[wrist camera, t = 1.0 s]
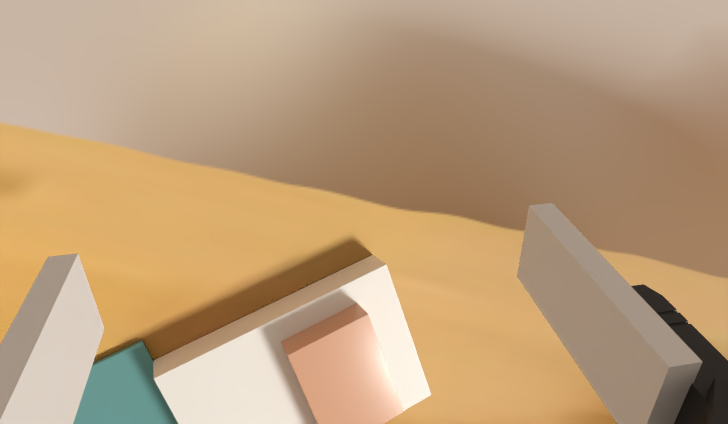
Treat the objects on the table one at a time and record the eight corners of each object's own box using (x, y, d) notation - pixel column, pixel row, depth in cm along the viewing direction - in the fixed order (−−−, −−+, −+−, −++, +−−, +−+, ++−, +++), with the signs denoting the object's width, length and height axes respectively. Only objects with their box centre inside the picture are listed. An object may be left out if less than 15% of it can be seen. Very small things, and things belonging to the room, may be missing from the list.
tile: (392, 396, 49) (404, 411, 46) (322, 435, 47) (331, 453, 44) (357, 302, 45) (368, 314, 43) (280, 341, 43) (287, 355, 41)
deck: (416, 378, 53) (431, 394, 50) (222, 488, 48) (227, 512, 45) (372, 254, 48) (386, 264, 46) (153, 360, 43) (153, 378, 40)
